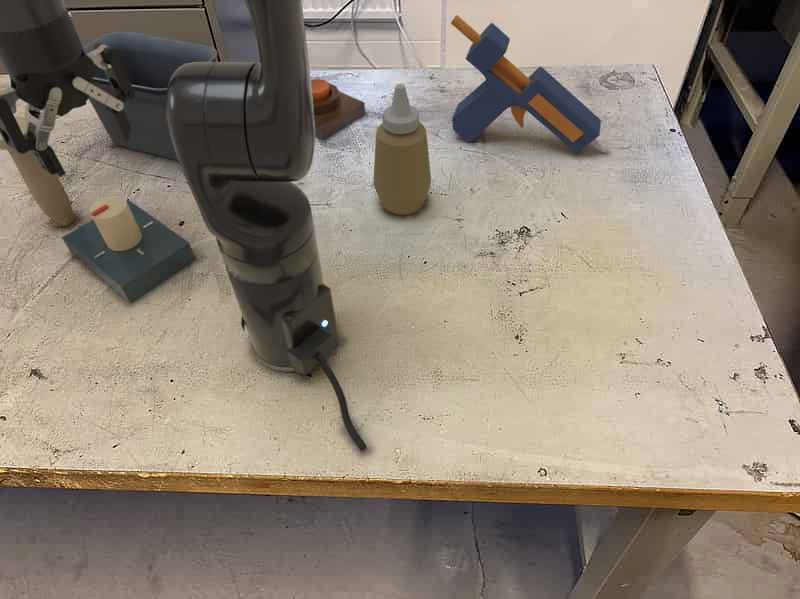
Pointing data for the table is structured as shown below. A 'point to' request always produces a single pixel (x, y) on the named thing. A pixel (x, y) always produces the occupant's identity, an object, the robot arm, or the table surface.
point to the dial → (116, 223)
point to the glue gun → (519, 95)
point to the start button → (320, 89)
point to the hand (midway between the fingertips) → (91, 155)
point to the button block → (335, 112)
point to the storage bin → (146, 85)
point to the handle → (42, 184)
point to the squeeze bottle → (401, 157)
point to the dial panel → (132, 255)
